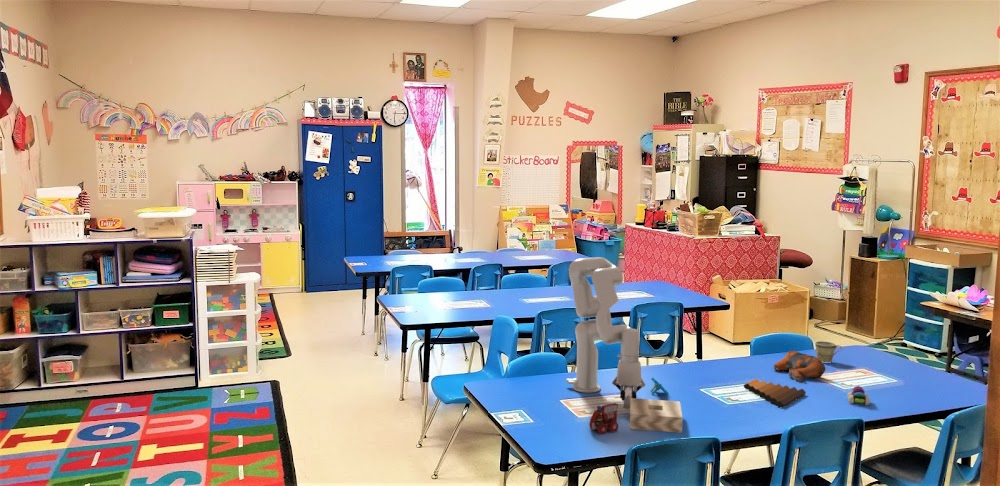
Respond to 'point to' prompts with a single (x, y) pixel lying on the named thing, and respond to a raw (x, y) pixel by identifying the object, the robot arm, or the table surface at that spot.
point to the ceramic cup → (825, 350)
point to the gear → (657, 387)
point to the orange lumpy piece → (800, 365)
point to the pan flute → (774, 392)
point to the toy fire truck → (604, 418)
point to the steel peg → (627, 396)
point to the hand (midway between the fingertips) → (628, 399)
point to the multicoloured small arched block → (858, 396)
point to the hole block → (655, 415)
